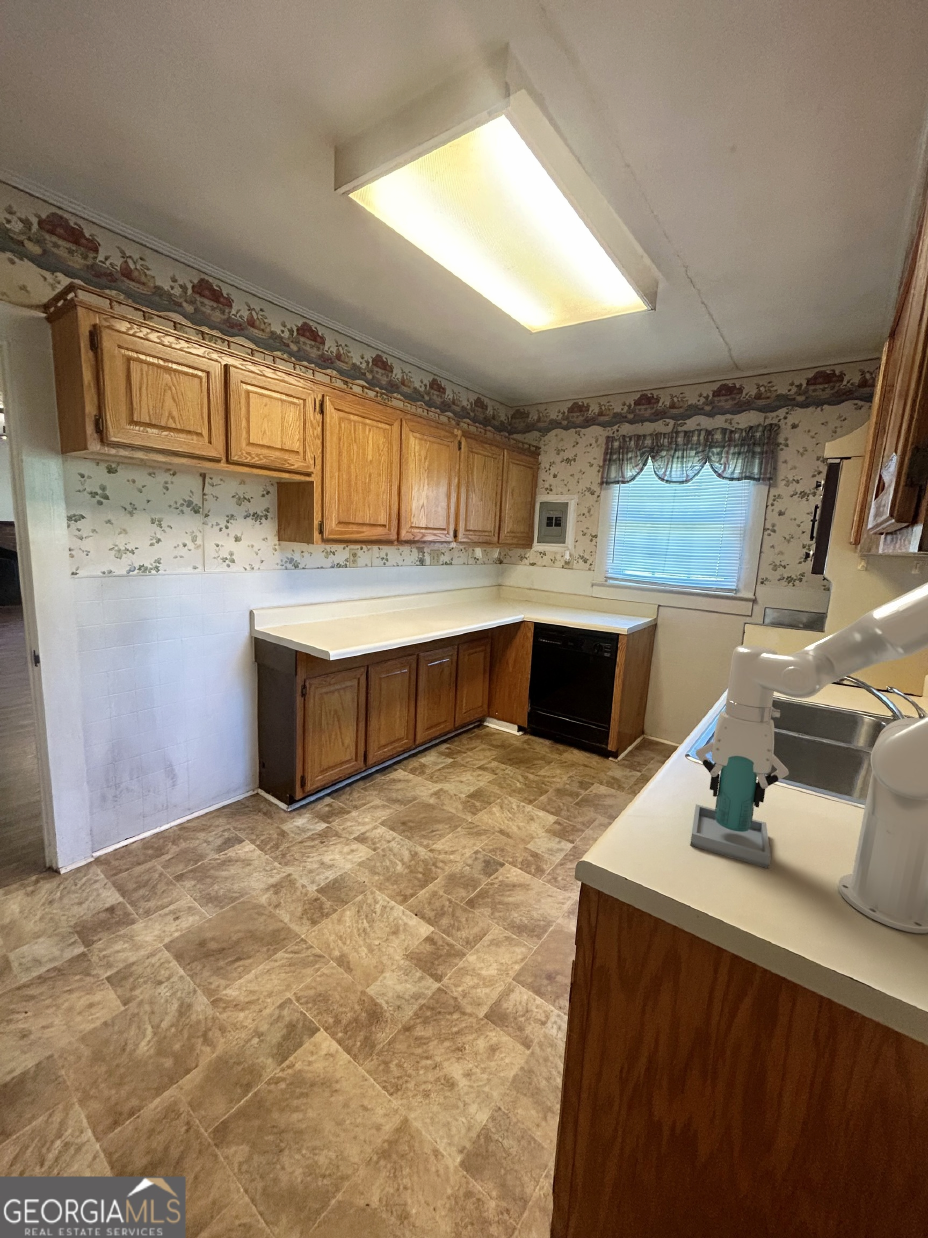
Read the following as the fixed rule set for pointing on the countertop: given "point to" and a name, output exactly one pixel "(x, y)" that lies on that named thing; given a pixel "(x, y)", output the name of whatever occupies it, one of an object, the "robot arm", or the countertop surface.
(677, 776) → the countertop surface
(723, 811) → the beverage bottle
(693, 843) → the tray
